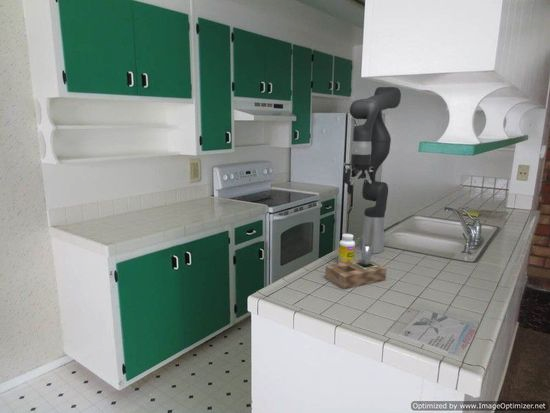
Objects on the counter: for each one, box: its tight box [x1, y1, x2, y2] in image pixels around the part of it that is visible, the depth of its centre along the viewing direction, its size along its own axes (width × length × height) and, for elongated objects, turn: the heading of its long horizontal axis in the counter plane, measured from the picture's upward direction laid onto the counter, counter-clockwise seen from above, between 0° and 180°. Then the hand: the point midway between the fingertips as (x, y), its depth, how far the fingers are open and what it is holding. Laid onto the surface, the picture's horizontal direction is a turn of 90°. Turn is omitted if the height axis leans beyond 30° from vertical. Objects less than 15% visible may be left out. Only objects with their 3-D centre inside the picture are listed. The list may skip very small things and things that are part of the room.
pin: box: [360, 244, 372, 268], centre depth 155 cm, size 4×4×12 cm
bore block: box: [324, 258, 387, 290], centre depth 154 cm, size 20×12×5 cm, turn 117°
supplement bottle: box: [337, 233, 356, 264], centre depth 169 cm, size 7×7×13 cm
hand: (358, 193), depth 159 cm, fingers open, 8 cm apart
